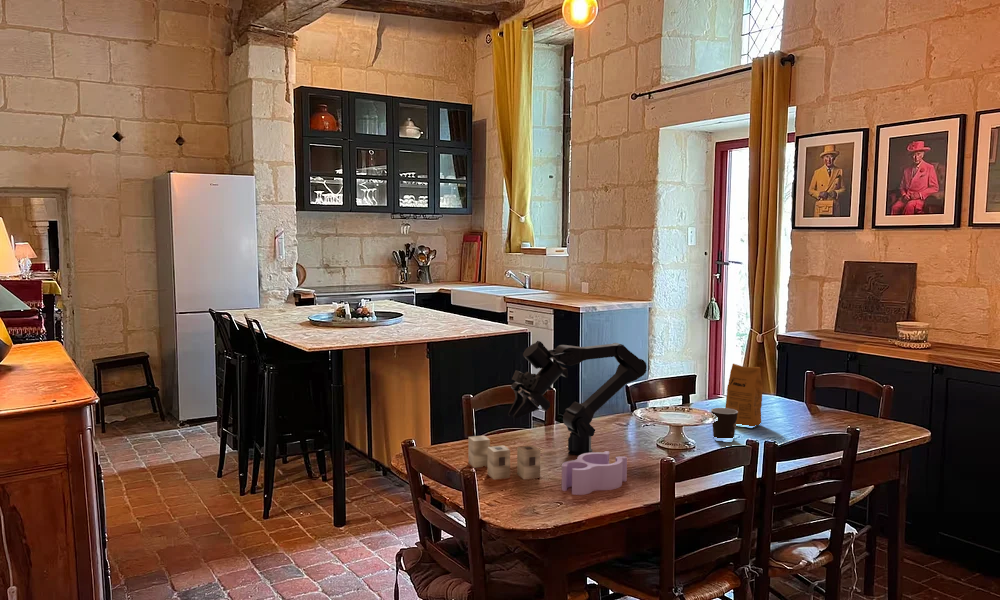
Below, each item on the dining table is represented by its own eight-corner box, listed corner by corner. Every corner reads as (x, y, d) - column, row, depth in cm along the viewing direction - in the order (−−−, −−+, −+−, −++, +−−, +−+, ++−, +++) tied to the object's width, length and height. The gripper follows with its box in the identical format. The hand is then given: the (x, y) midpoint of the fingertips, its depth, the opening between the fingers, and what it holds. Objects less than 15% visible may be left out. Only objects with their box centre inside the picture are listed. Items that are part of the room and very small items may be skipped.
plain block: (484, 461, 226) (484, 435, 225) (489, 465, 221) (489, 439, 220) (468, 462, 224) (468, 436, 223) (473, 467, 219) (473, 441, 219)
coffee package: (733, 419, 278) (735, 361, 276) (765, 425, 269) (767, 365, 267) (720, 424, 271) (722, 364, 269) (752, 430, 262) (754, 369, 260)
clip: (584, 499, 194) (584, 473, 193) (551, 487, 204) (551, 462, 203) (634, 483, 207) (634, 459, 206) (600, 472, 216) (601, 448, 216)
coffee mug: (727, 445, 244) (728, 415, 243) (705, 439, 251) (706, 410, 250) (746, 438, 252) (747, 409, 251) (724, 433, 258) (725, 405, 257)
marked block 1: (503, 472, 215) (504, 444, 215) (510, 477, 211) (510, 449, 210) (487, 474, 214) (487, 446, 213) (493, 479, 209) (493, 451, 208)
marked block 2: (533, 472, 216) (533, 444, 215) (540, 477, 211) (540, 449, 210) (517, 474, 214) (517, 446, 213) (524, 479, 209) (524, 451, 208)
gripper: (516, 356, 234) (483, 393, 231) (541, 366, 217) (505, 406, 214) (539, 379, 238) (506, 416, 235) (564, 391, 220) (530, 430, 217)
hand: (511, 416), depth 225 cm, fingers open, 3 cm apart
